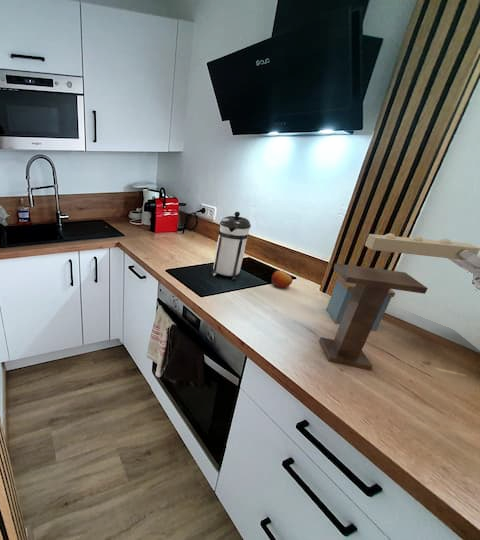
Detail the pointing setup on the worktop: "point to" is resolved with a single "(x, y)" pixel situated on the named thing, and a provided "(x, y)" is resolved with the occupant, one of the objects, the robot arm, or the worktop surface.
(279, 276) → the fruit
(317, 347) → the worktop surface
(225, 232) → the coffee press
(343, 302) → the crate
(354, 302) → the wooden pedestal stand
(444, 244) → the egg box
